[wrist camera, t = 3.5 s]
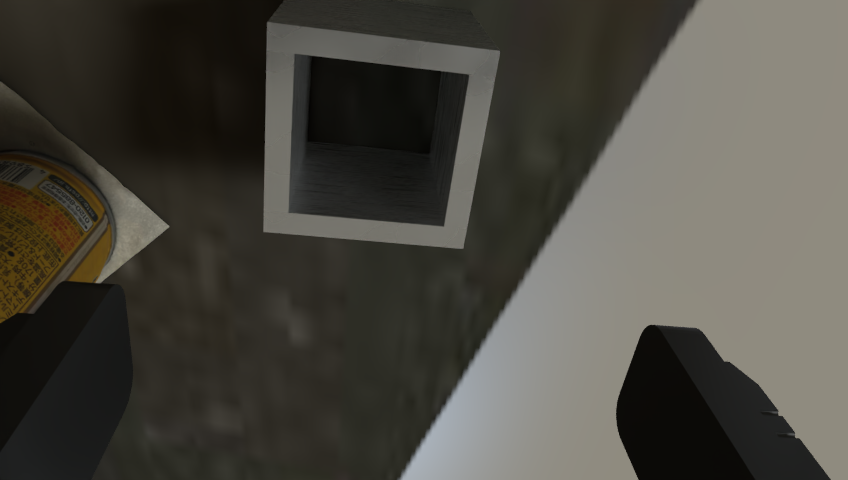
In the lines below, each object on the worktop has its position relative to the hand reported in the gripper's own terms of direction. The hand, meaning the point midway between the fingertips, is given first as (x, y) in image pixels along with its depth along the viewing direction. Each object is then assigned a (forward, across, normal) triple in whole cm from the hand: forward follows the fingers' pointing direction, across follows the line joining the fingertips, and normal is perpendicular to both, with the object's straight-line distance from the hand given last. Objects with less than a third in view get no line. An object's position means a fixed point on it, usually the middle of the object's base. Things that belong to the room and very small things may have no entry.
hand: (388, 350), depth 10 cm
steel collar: (+15, 0, 0) cm, 15 cm away
